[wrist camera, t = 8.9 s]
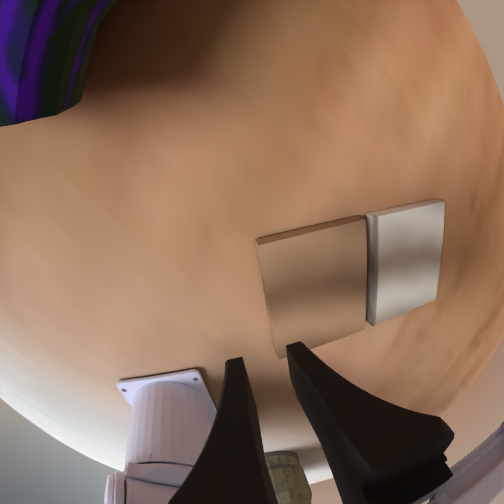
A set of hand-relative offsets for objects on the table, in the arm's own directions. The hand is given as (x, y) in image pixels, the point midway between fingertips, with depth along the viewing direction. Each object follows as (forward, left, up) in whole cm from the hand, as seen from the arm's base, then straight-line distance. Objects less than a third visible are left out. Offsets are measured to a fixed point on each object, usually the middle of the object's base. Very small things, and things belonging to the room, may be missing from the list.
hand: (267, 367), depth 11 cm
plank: (-3, -6, -10) cm, 12 cm away
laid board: (-3, -15, -10) cm, 18 cm away
